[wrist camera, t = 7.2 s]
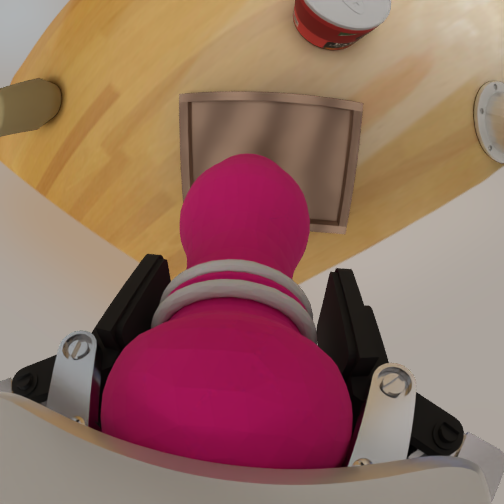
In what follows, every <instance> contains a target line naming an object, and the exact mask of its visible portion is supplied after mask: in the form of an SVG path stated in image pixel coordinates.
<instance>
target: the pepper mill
mask: <svg viewBox="0 0 504 504" xmlns="http://www.w3.org/2000/svg"><path fill="white" fill-rule="evenodd" d="M309 232H310V218H309V213H308V207H307V203H306V200H305V197H304V194H303V192H302V190H301V189H300V187H299V185H298V184H297V183H296V181H295V180H294V179H293V178H292V177H291V176H290V175H289V174H288V173H287V172H285V171H284V170H283V169H282V168H281V167H280V166H279V165H277V164H276V163H275V162H273V161H272V160H270V159H268V158H266V157H264V156H261V155H257V154H238V155H234V156H231V157H229V158H227V159H225V160H223V161H222V162H220V163H218V164H216V165H214V166H212V167H211V168H209V169H207V170H206V171H205V172H203V173H202V174H201V175H200V176H199V177H198V178H197V179H196V181H195V182H194V183H193V184H192V186H191V188H190V190H189V191H188V193H187V195H186V198H185V200H184V203H183V206H182V209H181V214H180V237H181V242H182V245H183V248H184V251H185V253H186V256H187V269H186V270H185V271H183V272H182V273H180V274H179V275H178V276H177V277H175V278H174V279H173V280H172V281H171V282H170V283H169V285H168V286H167V287H166V289H165V290H164V292H163V295H162V297H161V300H160V304H159V306H158V308H157V310H156V312H155V314H154V316H153V319H152V323H151V329H150V330H148V331H146V332H144V333H141V334H139V335H138V336H137V337H136V338H135V339H133V340H132V341H131V342H130V343H129V344H128V345H127V346H126V347H125V348H124V349H123V351H122V352H121V354H120V355H119V356H118V358H117V359H116V361H115V363H114V365H113V367H112V369H111V371H110V373H109V375H108V378H107V381H106V384H105V387H104V390H103V394H102V405H101V428H102V433H105V434H107V435H110V436H113V437H115V438H118V439H121V440H124V441H127V442H130V443H133V444H136V445H139V446H143V447H146V448H150V449H153V450H157V451H161V452H164V453H168V454H172V455H177V456H181V457H186V458H191V459H196V460H201V461H207V462H213V463H219V464H227V465H235V466H244V467H255V468H270V469H326V468H340V467H341V465H342V464H343V462H344V461H345V460H346V459H345V457H346V454H347V451H348V449H349V445H350V442H351V437H352V423H353V413H352V403H351V399H350V396H349V392H348V389H347V386H346V383H345V381H344V379H343V377H342V375H341V373H340V371H339V369H338V366H337V365H336V364H335V362H334V361H333V360H332V358H331V357H329V356H328V355H327V354H326V353H325V352H324V351H323V350H322V349H321V348H319V347H318V346H317V332H316V328H315V325H314V323H313V313H312V309H311V304H310V302H309V300H308V298H307V297H306V295H305V293H304V292H303V290H302V289H301V288H300V287H299V286H298V285H297V284H296V283H295V282H294V281H293V280H292V277H293V273H294V270H295V268H296V266H297V265H298V263H299V261H300V260H301V258H302V256H303V254H304V252H305V249H306V245H307V242H308V237H309Z"/></svg>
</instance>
